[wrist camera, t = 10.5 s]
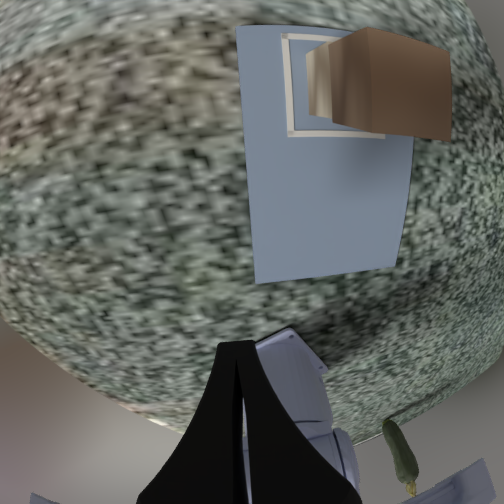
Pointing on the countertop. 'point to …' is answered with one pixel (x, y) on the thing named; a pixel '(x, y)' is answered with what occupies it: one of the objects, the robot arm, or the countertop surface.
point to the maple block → (319, 81)
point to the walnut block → (391, 85)
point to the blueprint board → (313, 167)
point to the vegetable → (401, 456)
